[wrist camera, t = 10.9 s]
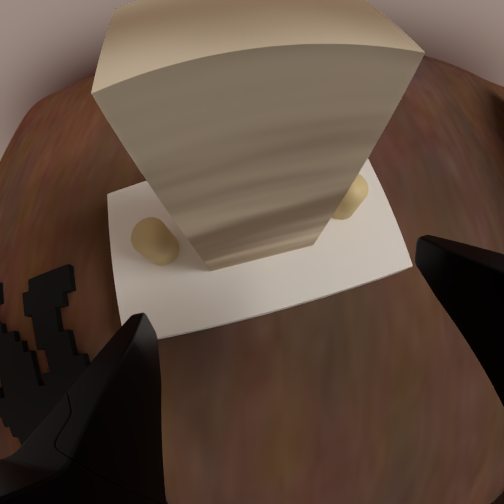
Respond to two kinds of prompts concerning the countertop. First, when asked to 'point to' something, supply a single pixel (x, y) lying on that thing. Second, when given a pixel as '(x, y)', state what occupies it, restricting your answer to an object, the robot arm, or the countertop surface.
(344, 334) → the countertop surface
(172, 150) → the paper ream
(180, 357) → the countertop surface
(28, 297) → the ragged black cutout
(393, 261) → the white peg rack
